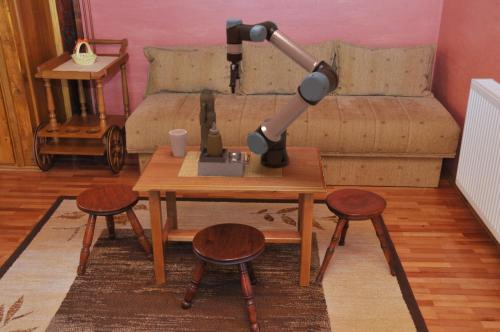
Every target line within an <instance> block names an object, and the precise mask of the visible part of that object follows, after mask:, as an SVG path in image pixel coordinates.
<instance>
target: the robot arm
mask: <svg viewBox="0 0 500 332" xmlns="http://www.w3.org/2000/svg"><path fill="white" fill-rule="evenodd" d="M225 26H226V27H225V34H226V37H225V38H226V44H225V45H224V46H225V48H226V61H227V62H231V64H230V65H229V69H230V71H229V72H230V76H229V77H230V78H229V84H228V87H229V88H230V101H236V100H237V93H240V80H241V76H240V64H239V62H242V61H243V41H244V42H249V43H250V42H251V43H256V44H257V43H263V42H265V40H266V41H267V42H268V43H270V44H271V45H272V46H274V47H275V48H276V49H277V50H279V51H280V52H281V53H283V55H285V56H286V57H288V58H289V59H291V60H292V61H293V62H294V63H295V64H297V66H299V67H301V68H302V69H303V70H305V71H306V72H307V73H308V74H307V75H306V76H304V78H303V79H302V80H301V83H299V84H300V85H298V86H297V89H296V93H295V94H294V95H293V96H292V97H291V98H290V99H289V100H288V101H287V102H286V103H285V104H284V106H282V107H281V108H280V109H279V110H278V111H277V113H275V114H274V116H272V117H271V118H267V119H264V120H263V122H262V123H261V124H260V125H259V126H258V127H257V129H255V130H253V131H252V132H250V133H249V134H248V135H247V137H246V145H247V148H248V149H249V150H250V152H252V153H253V154H255V155H259V157H260V159H259V163H260V165H262V166H264V167H267V168H283V167H286V166H287V165H289V163H290V158H289V153H288V150H287V135H288V134H287V130H288V128H290V126H291V125H292V124H293V123H294V122H296V120H297V119H299V117H300V116H302V115H303V114H304V113H305V112H306V111H307V110H308V109H309V108H310V107H314V106H317V105H318V104H319V103H320V102H321V101H322V100H323V99H324V98H325V97H326V96H328V95H330V94H331V93H333V92H334V91H335V90H337V88H338V86H339V84H340V83H339V82H340V77H339V75H338V72H337V71H336V70H335V68H334V67H332V66H331V65H330V64H329V63H328V62H326V61H325V60H323V59H318V58H317V57H316V56H314V55H313V54H312V53H310V52H309V51H308V50H307V49H305V48H304V47H303V46H301V45H300V44H299V43H297V41H295V40H294V39H292V38H291V37H290V36H288V35H287V34H286V33H284V31H281V30H280V29H279V28H278V25H277V23H276V22H275V21H273V20H265V21H262V22H259V23H254V24H244V23H243V20H242V19H241V18H236V17H235V18H228V19H227V20H226V25H225Z"/></svg>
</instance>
